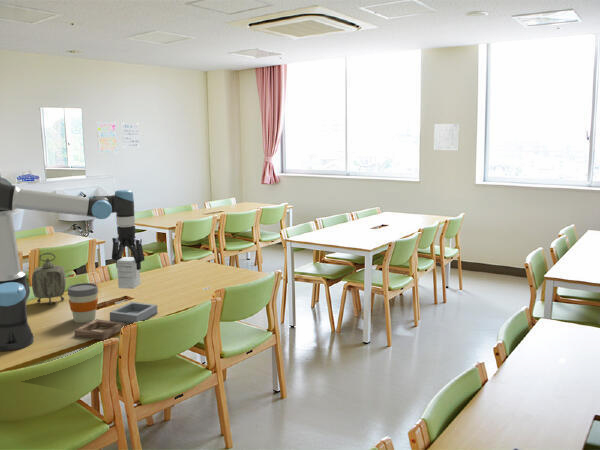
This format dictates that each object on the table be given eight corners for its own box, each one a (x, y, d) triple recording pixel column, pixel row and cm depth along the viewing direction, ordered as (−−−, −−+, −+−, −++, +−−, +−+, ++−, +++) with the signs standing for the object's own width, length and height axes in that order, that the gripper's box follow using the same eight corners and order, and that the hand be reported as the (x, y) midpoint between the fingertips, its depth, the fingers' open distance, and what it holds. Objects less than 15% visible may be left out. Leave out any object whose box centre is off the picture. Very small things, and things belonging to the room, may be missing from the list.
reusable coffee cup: (69, 316, 245) (67, 284, 242) (99, 313, 249) (97, 281, 247) (68, 325, 233) (66, 292, 231) (99, 322, 238) (98, 289, 235)
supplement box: (125, 283, 244) (123, 256, 242) (141, 284, 243) (139, 257, 241) (117, 288, 237) (116, 260, 234) (134, 289, 236) (132, 260, 233)
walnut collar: (103, 340, 217) (102, 334, 217) (74, 335, 222) (74, 330, 221) (124, 328, 230) (124, 323, 230) (97, 324, 235) (97, 319, 234)
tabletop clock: (67, 299, 270) (64, 250, 266) (66, 304, 261) (62, 254, 257) (35, 301, 265) (31, 252, 261) (32, 307, 257) (29, 256, 252)
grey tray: (136, 324, 235) (136, 315, 235) (110, 320, 240) (109, 312, 239) (157, 313, 250) (157, 305, 250) (131, 309, 255) (131, 301, 254)
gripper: (151, 225, 235) (154, 275, 239) (111, 222, 242) (115, 271, 246) (141, 228, 228) (144, 280, 232) (100, 225, 235) (103, 276, 239)
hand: (129, 275), depth 239 cm, fingers closed on supplement box, 8 cm apart
